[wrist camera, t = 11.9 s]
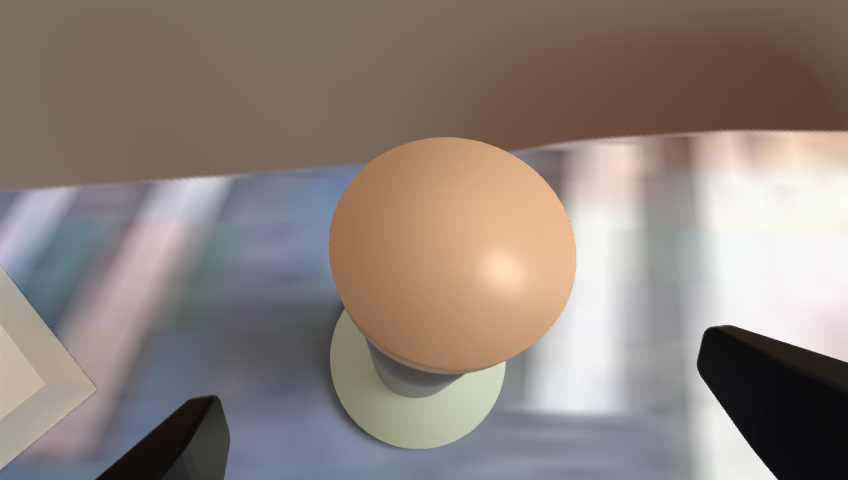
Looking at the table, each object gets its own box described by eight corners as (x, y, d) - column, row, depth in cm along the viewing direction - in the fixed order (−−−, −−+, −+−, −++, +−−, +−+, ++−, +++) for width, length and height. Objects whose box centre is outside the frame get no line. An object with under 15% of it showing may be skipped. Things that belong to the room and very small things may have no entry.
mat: (464, 483, 18) (465, 484, 18) (297, 396, 19) (295, 396, 18) (527, 313, 21) (529, 312, 21) (381, 245, 22) (381, 242, 22)
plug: (393, 422, 18) (395, 420, 6) (352, 329, 20) (291, 186, 8) (481, 374, 19) (625, 296, 7) (437, 289, 21) (497, 108, 9)
